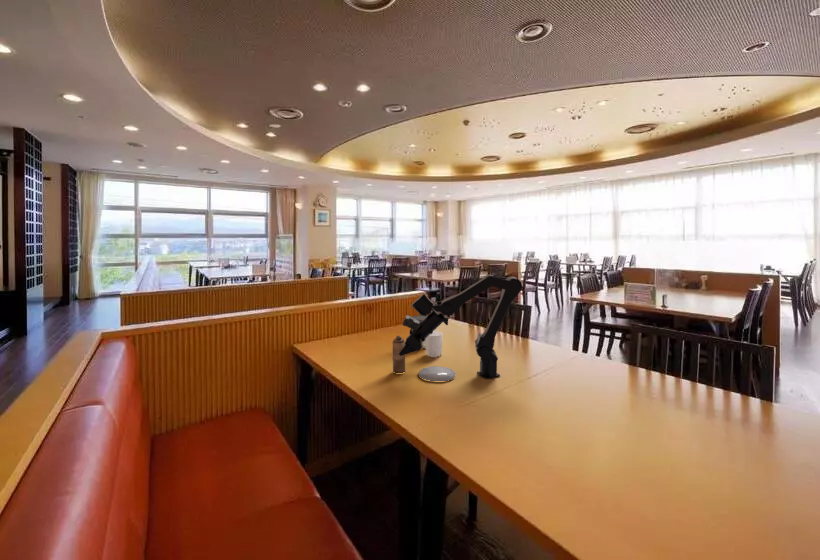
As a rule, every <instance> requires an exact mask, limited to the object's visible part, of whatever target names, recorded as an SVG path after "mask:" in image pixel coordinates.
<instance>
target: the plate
mask: <svg viewBox="0 0 820 560" xmlns="http://www.w3.org/2000/svg"><path fill="white" fill-rule="evenodd" d="M419 376H420V377H421V378H423V379H426V380H430V381H448V380H451V379H453V378H454V377H455V378H456V372H455V370H453V369H452V368H449V367H445V366H427V367H424V368H421V369H420V370H419V371H418V377H419ZM421 378H420V379H421ZM455 378H454V379H455ZM454 379H453V380H454ZM451 381H452V380H451ZM448 382H449V381H448Z"/></svg>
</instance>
